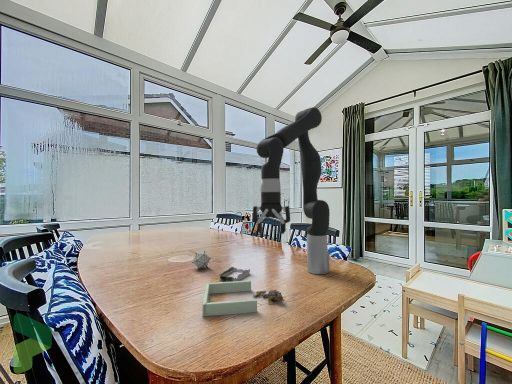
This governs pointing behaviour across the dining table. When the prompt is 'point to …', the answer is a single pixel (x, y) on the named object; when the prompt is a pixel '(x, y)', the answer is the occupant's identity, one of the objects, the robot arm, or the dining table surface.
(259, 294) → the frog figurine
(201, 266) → the grey spiky ball
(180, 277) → the dining table surface
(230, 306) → the frame
